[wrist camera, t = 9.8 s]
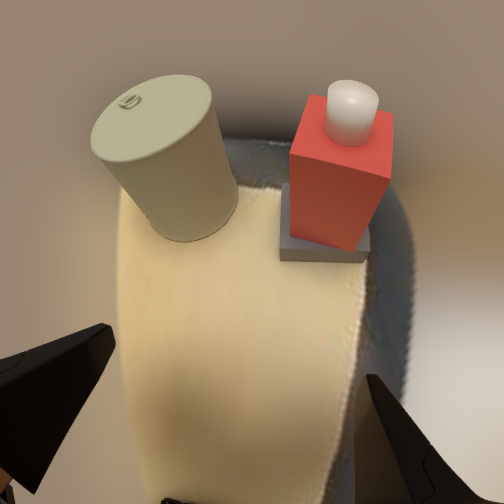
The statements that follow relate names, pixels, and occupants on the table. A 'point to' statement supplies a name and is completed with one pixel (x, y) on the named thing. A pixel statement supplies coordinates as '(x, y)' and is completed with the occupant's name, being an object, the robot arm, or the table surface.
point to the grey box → (310, 250)
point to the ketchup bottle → (339, 165)
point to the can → (169, 155)
